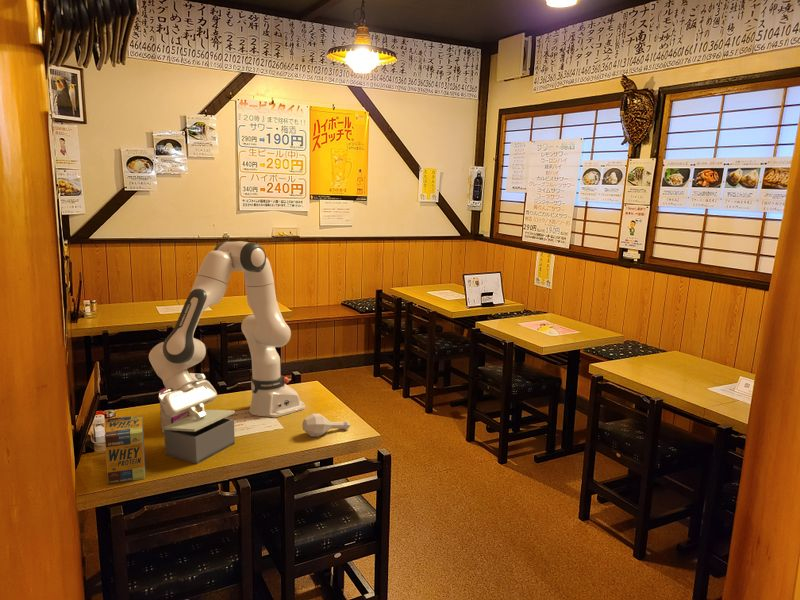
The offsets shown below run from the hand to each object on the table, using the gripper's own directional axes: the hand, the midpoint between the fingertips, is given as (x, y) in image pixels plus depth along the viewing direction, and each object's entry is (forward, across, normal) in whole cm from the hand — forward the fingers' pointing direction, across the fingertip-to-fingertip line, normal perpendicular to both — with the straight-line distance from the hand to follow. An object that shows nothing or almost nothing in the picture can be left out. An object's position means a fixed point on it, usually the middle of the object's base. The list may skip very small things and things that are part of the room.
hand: (202, 417), depth 198 cm
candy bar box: (-8, +9, +25) cm, 28 cm away
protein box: (+2, -22, +16) cm, 27 cm away
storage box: (+7, +1, +10) cm, 12 cm away
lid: (0, 0, +2) cm, 2 cm away
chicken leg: (+28, +34, -12) cm, 45 cm away
